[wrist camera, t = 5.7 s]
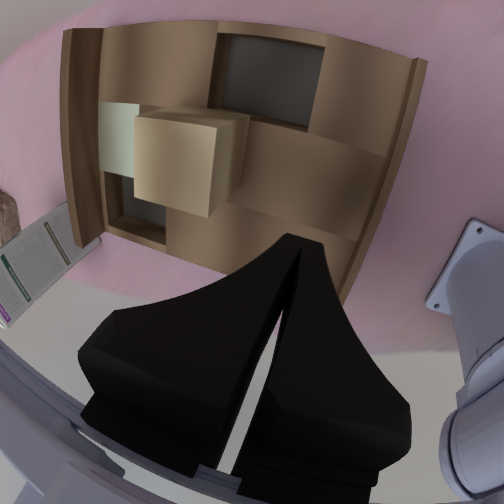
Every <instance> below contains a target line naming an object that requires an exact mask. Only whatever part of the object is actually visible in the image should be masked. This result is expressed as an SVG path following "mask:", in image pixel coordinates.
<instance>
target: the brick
mask: <svg viewBox="0 0 504 504" xmlns="http://www.w3.org/2000/svg"><path fill="white" fill-rule="evenodd" d="M19 232H21V229H20V223H19V214H18V208H17V204H16V202H15V200H14V199H12V198H11V197H10V196H9V195H7V194H6V193H3V192H2V191H1V190H0V247H1V246H3V245H4V244H5V243H6V242H7V241H9V240H10V239H11V238H13V237H14V236H15V235H17V234H18V233H19Z"/></svg>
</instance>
